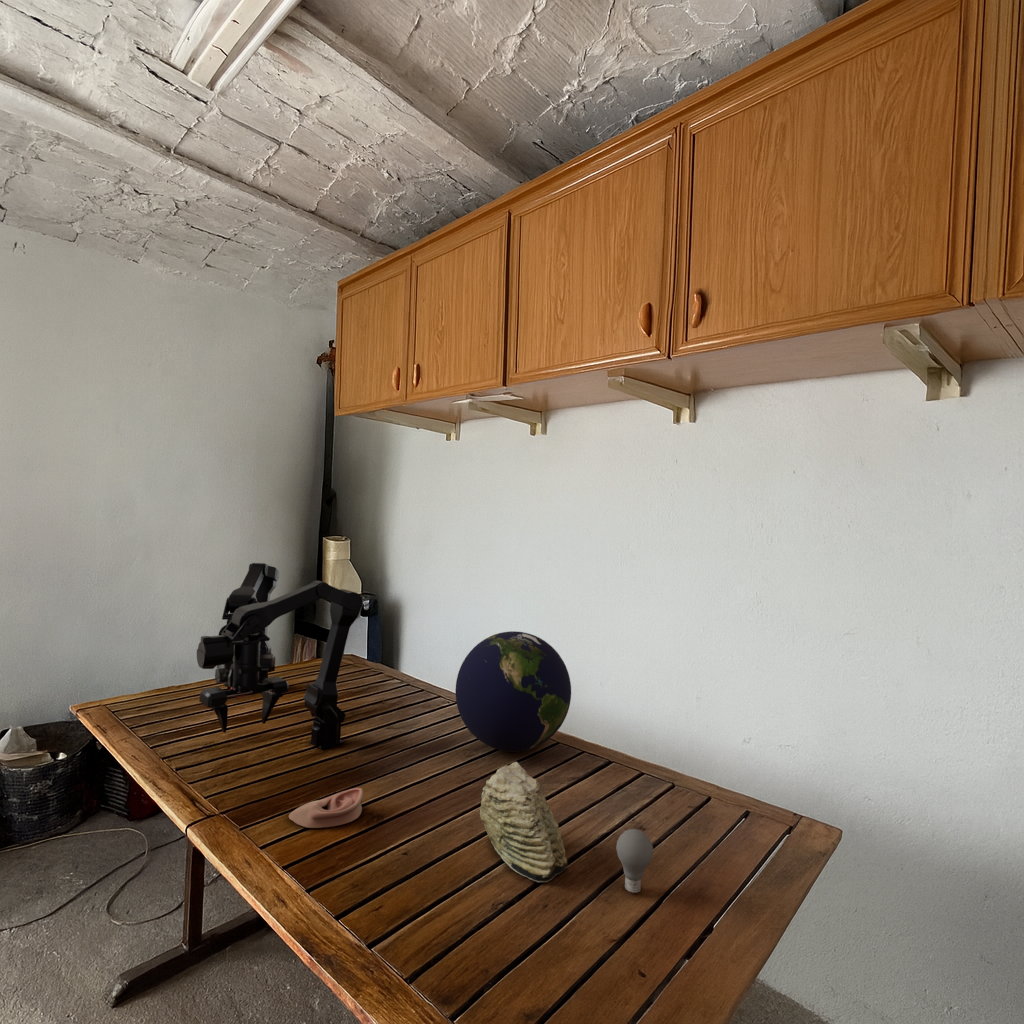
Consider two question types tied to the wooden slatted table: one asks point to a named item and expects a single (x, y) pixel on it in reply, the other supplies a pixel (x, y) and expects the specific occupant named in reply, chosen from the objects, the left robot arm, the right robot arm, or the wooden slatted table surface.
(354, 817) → the anatomical model
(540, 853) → the fossil
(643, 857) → the light bulb
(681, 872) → the wooden slatted table surface
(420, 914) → the wooden slatted table surface
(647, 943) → the wooden slatted table surface
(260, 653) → the left robot arm
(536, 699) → the globe
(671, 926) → the wooden slatted table surface
